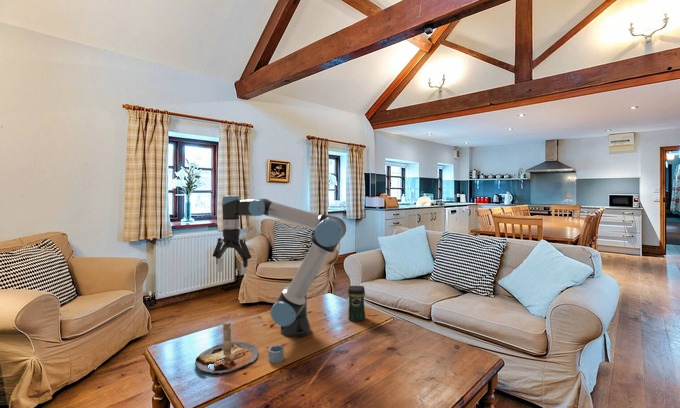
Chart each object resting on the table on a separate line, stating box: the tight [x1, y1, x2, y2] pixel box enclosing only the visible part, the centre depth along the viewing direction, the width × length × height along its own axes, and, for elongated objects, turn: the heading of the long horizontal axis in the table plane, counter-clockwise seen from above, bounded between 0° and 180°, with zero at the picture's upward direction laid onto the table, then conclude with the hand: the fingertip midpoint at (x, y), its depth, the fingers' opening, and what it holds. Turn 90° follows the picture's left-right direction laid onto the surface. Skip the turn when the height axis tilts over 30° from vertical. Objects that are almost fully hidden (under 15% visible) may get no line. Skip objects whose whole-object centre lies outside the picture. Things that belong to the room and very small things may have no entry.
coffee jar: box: [347, 285, 366, 322], centre depth 174 cm, size 10×8×19 cm
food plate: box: [194, 341, 259, 375], centre depth 133 cm, size 25×23×4 cm
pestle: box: [222, 321, 232, 356], centre depth 133 cm, size 3×3×13 cm
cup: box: [268, 344, 285, 364], centre depth 132 cm, size 6×6×5 cm
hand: (232, 272), depth 149 cm, fingers open, 13 cm apart
